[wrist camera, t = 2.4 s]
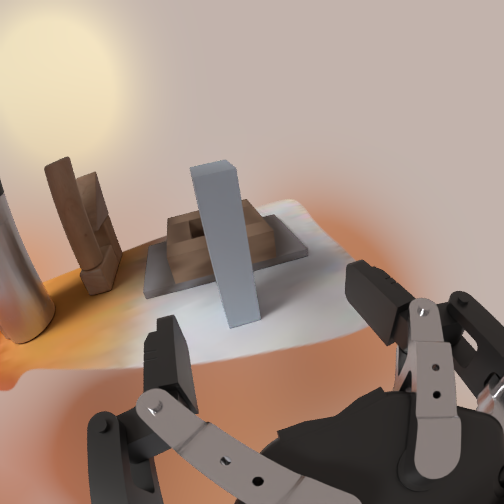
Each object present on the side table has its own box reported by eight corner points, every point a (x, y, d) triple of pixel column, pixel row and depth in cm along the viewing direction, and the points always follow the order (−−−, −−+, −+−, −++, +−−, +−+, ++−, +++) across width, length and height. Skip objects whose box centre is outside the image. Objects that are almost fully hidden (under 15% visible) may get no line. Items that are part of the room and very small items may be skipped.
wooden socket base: (146, 299, 30) (132, 266, 28) (150, 251, 40) (142, 225, 38) (307, 255, 33) (306, 222, 31) (274, 220, 43) (271, 193, 41)
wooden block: (123, 253, 41) (90, 147, 32) (112, 291, 32) (62, 158, 23) (104, 258, 41) (69, 155, 32) (89, 297, 32) (38, 169, 23)
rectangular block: (229, 328, 25) (192, 177, 18) (221, 302, 28) (189, 167, 21) (260, 319, 25) (236, 167, 18) (249, 294, 28) (225, 159, 21)
